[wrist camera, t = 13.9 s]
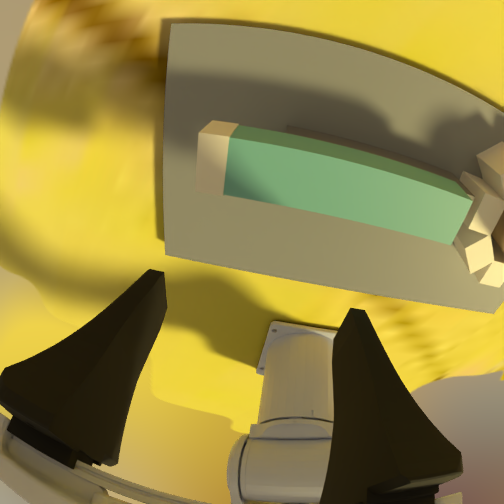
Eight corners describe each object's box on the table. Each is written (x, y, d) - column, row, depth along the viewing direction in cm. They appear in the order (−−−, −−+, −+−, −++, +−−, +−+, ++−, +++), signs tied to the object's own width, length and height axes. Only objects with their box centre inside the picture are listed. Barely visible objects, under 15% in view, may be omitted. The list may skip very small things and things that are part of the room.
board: (489, 304, 22) (504, 339, 19) (170, 245, 23) (149, 284, 20) (567, 162, 13) (599, 188, 9) (179, 24, 13) (144, 20, 10)
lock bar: (436, 223, 14) (450, 246, 12) (207, 172, 14) (195, 191, 12) (455, 180, 12) (473, 200, 11) (212, 120, 12) (198, 132, 11)
